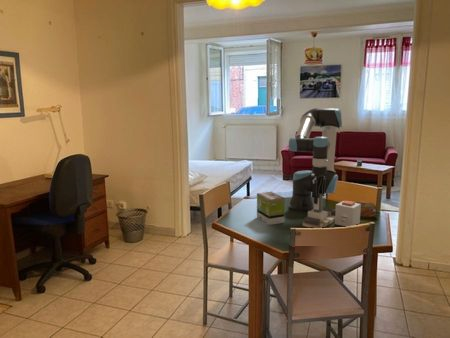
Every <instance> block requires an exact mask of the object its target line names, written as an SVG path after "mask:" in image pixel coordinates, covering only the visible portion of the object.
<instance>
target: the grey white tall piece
mask: <svg viewBox="0 0 450 338" xmlns="http://www.w3.org/2000/svg"><path fill="white" fill-rule="evenodd" d="M322 197H323V196H322V194H321V193H319V197H318V198H319V210H316V209H312V210H307V217H311V218H316V219H320V222H321V221H322V220H324V218H326V217H327V211H323V198H322Z"/></svg>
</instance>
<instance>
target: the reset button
mask: <svg viewBox="0 0 450 338" xmlns="http://www.w3.org/2000/svg"><path fill="white" fill-rule="evenodd" d="M343 201H344V202H342V201H341V202H342V205H347V206H353V205H355V202H356V201H350V200H343Z"/></svg>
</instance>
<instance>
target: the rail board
mask: <svg viewBox="0 0 450 338" xmlns="http://www.w3.org/2000/svg"><path fill="white" fill-rule="evenodd" d="M335 210H336V209H335V208H334V209H333V208H327V207H322V211H327V217H326V218H324V220H322V221H321V222H320V219H316V218H311V217H308V215H307V216H304V221H302V227H306V228H310V227H314V228H322V227H324V228H325V227H327V226H329V225H331V224H333V223H335ZM314 228H313V229H314ZM322 229H323V228H322Z"/></svg>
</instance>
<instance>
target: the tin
mask: <svg viewBox="0 0 450 338" xmlns="http://www.w3.org/2000/svg"><path fill="white" fill-rule="evenodd" d="M354 202H355V203H358V204H361V211H360V217H367V218H371V217H374V216H375V215H376V214H377V212H378V208H377V206H376V205H375V203H373V202H370V201H354Z"/></svg>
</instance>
